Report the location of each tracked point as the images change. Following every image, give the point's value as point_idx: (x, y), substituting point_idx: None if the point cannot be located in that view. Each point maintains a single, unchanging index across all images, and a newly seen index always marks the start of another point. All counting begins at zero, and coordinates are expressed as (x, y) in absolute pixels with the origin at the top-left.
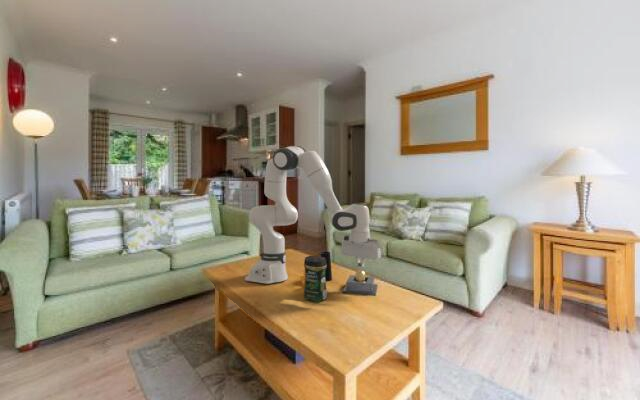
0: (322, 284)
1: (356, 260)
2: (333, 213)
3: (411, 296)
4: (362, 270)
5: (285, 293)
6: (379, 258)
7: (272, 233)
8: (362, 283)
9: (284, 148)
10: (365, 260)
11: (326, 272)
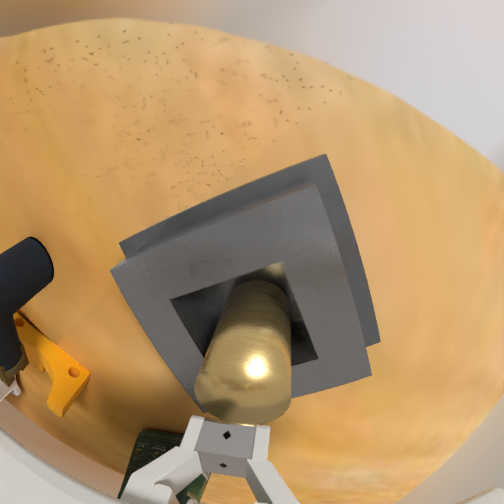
0: (199, 499)
1: (172, 487)
2: None
3: None
4: (241, 366)
5: (89, 426)
6: (490, 498)
7: None
8: (304, 393)
9: None
10: (290, 497)
11: (17, 310)
